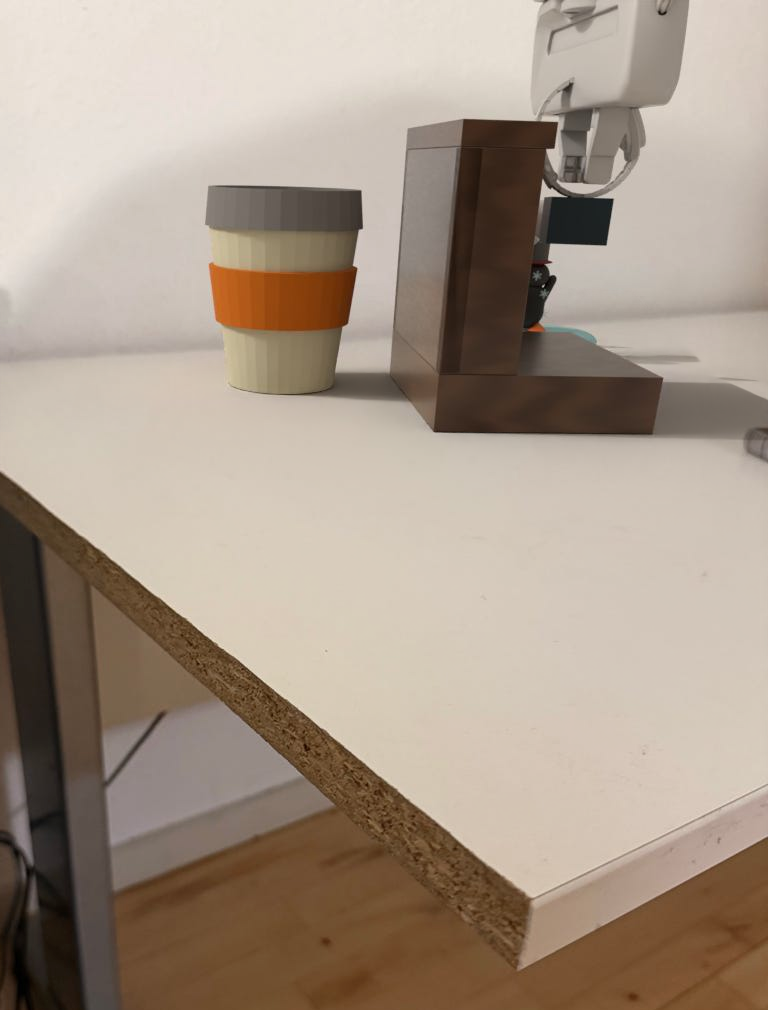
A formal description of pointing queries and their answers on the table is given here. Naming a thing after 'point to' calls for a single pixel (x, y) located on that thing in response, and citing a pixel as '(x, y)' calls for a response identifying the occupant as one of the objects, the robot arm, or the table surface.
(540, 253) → the penguin figurine
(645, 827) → the table surface
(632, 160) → the watch
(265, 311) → the reusable coffee cup
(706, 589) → the table surface
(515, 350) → the shelf
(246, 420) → the table surface
